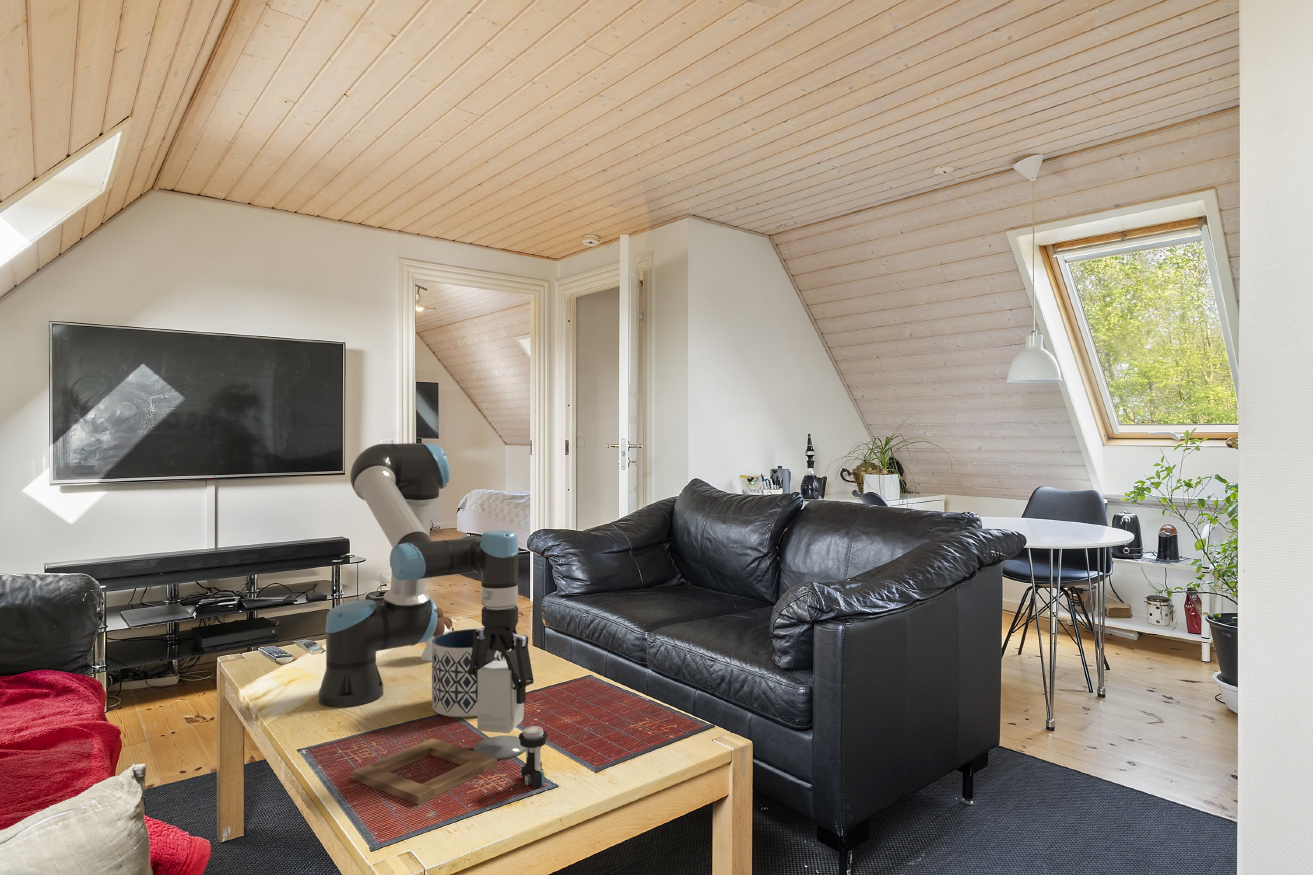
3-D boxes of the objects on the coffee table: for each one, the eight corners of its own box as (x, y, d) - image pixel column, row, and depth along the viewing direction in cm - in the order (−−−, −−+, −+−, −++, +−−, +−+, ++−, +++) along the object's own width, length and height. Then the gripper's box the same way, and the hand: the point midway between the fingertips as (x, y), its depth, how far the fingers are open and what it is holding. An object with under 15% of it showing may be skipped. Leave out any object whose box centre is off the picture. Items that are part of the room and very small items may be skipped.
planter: (470, 724, 171) (469, 651, 171) (415, 709, 180) (415, 641, 181) (524, 700, 186) (524, 634, 186) (471, 688, 196) (471, 625, 196)
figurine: (429, 653, 229) (429, 603, 230) (458, 653, 228) (458, 604, 228) (414, 662, 220) (414, 610, 220) (445, 663, 218) (445, 611, 219)
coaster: (462, 751, 155) (462, 748, 155) (500, 734, 165) (500, 731, 165) (500, 764, 149) (500, 761, 149) (538, 745, 159) (538, 742, 159)
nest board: (352, 779, 143) (352, 771, 143) (432, 745, 159) (432, 738, 159) (418, 804, 133) (418, 796, 133) (497, 765, 149) (497, 758, 149)
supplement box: (510, 733, 153) (510, 671, 153) (476, 731, 154) (476, 669, 154) (524, 720, 160) (523, 661, 160) (491, 718, 161) (491, 659, 161)
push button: (509, 780, 142) (509, 727, 142) (533, 771, 146) (533, 720, 146) (529, 792, 137) (528, 737, 137) (553, 783, 141) (553, 729, 141)
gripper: (450, 603, 160) (450, 709, 160) (526, 615, 148) (526, 730, 148) (476, 597, 166) (477, 699, 166) (551, 608, 154) (552, 718, 154)
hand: (500, 713), depth 157 cm, fingers closed on supplement box, 9 cm apart
